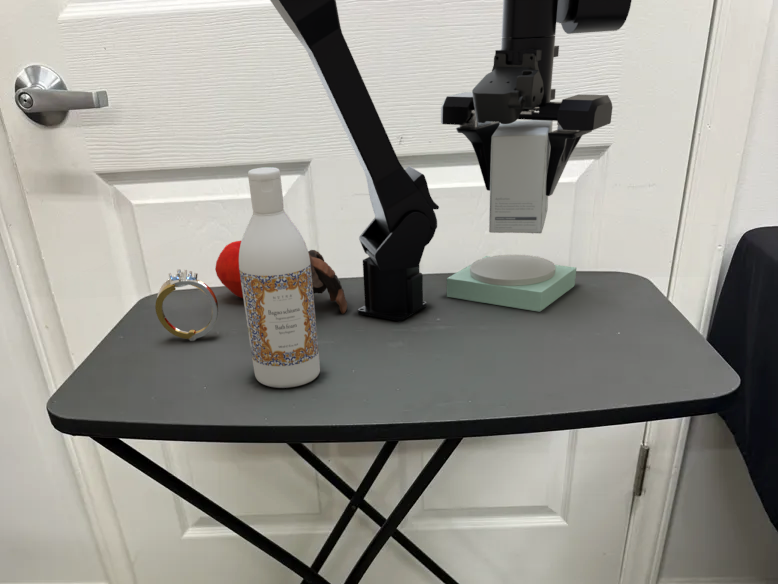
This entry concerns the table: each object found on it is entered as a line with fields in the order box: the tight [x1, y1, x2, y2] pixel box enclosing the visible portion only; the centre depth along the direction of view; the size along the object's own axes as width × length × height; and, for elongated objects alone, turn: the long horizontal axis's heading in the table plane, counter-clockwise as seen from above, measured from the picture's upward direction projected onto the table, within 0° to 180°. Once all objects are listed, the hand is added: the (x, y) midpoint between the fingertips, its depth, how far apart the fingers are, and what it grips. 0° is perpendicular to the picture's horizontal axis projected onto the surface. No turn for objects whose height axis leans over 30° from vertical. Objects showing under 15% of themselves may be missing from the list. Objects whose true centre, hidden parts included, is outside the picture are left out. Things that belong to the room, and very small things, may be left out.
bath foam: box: [239, 166, 321, 389], centre depth 76 cm, size 7×7×20 cm
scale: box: [446, 254, 577, 312], centre depth 100 cm, size 13×11×3 cm
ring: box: [154, 268, 219, 342], centre depth 89 cm, size 7×3×8 cm, turn 92°
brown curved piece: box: [308, 249, 348, 314], centre depth 98 cm, size 12×10×8 cm
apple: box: [214, 240, 243, 299], centre depth 101 cm, size 8×8×7 cm
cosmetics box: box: [488, 119, 554, 234], centre depth 91 cm, size 10×6×10 cm, turn 166°
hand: (518, 192), depth 92 cm, fingers closed on cosmetics box, 7 cm apart
